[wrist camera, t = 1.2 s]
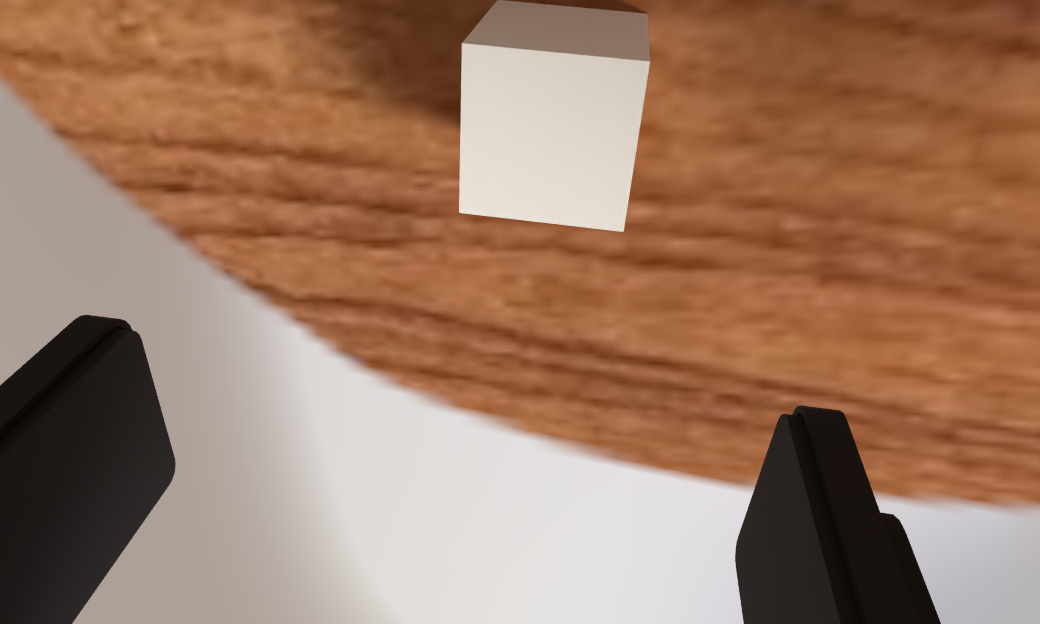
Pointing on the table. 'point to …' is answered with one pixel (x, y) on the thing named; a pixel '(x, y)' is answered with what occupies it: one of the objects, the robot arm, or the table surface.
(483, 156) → the white block
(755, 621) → the robot arm
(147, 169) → the table surface
